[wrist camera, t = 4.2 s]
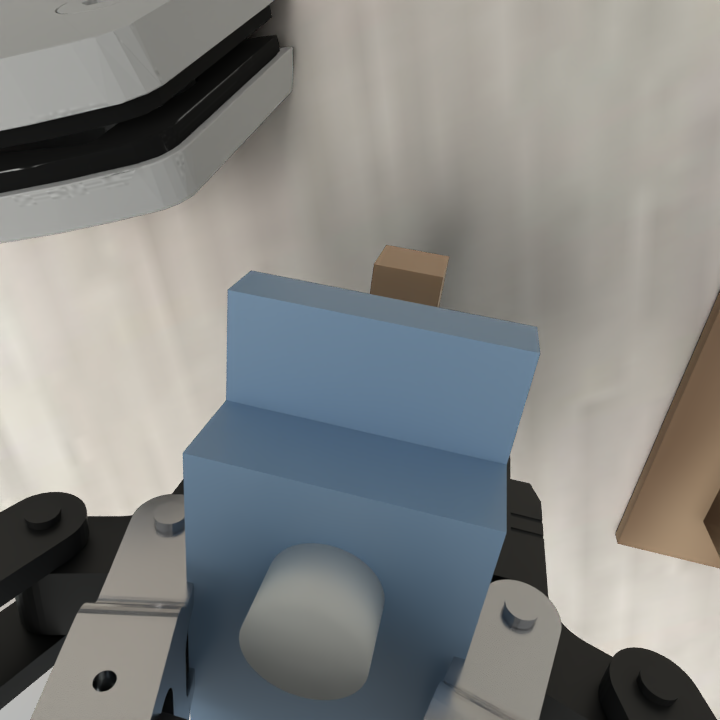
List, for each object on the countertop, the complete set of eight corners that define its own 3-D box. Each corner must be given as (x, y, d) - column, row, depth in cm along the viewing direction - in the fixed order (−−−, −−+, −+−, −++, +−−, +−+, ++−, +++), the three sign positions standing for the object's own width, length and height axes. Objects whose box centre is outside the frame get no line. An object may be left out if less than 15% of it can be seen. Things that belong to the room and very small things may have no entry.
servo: (291, 575, 17) (167, 873, 11) (325, 209, 12) (128, 371, 6) (431, 613, 16) (384, 949, 10) (527, 245, 11) (552, 469, 5)
